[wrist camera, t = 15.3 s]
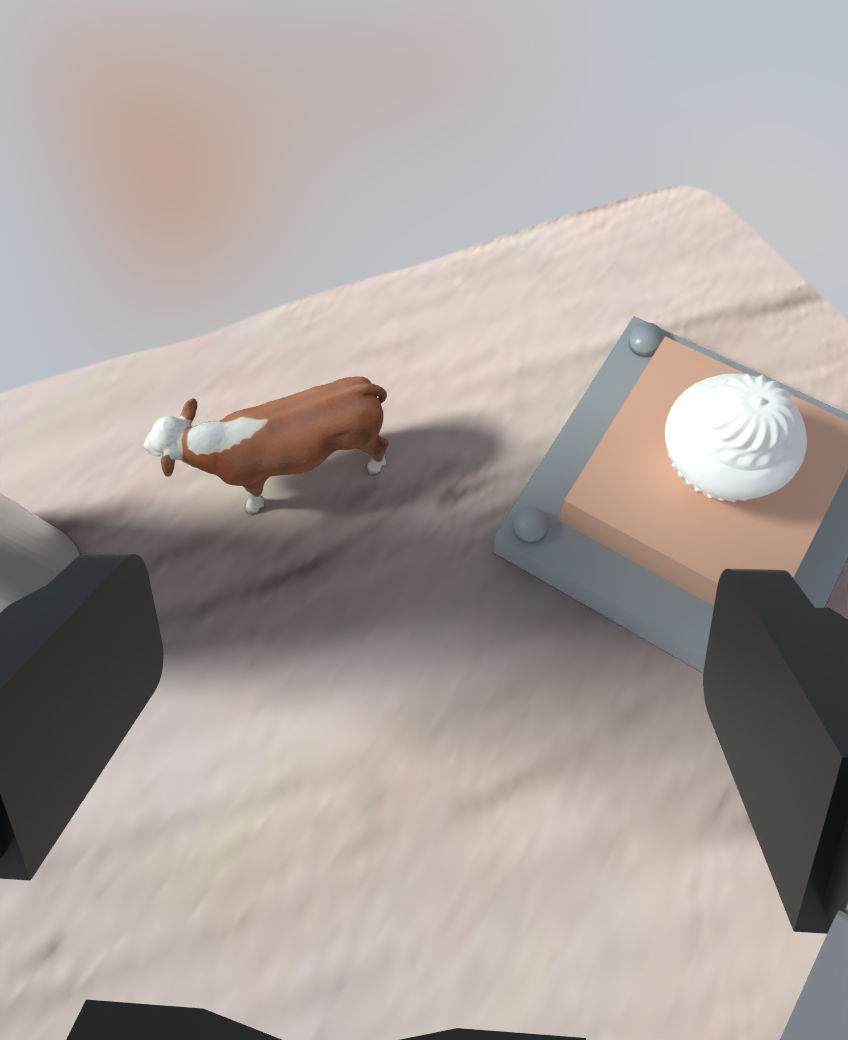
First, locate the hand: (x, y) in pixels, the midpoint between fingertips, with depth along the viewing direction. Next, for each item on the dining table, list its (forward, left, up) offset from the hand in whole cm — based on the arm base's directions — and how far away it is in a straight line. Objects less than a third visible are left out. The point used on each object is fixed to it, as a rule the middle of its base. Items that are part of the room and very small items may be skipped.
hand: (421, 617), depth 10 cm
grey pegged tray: (+4, +18, -31) cm, 36 cm away
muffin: (+4, +18, -25) cm, 31 cm away
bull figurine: (-17, +8, -31) cm, 36 cm away
